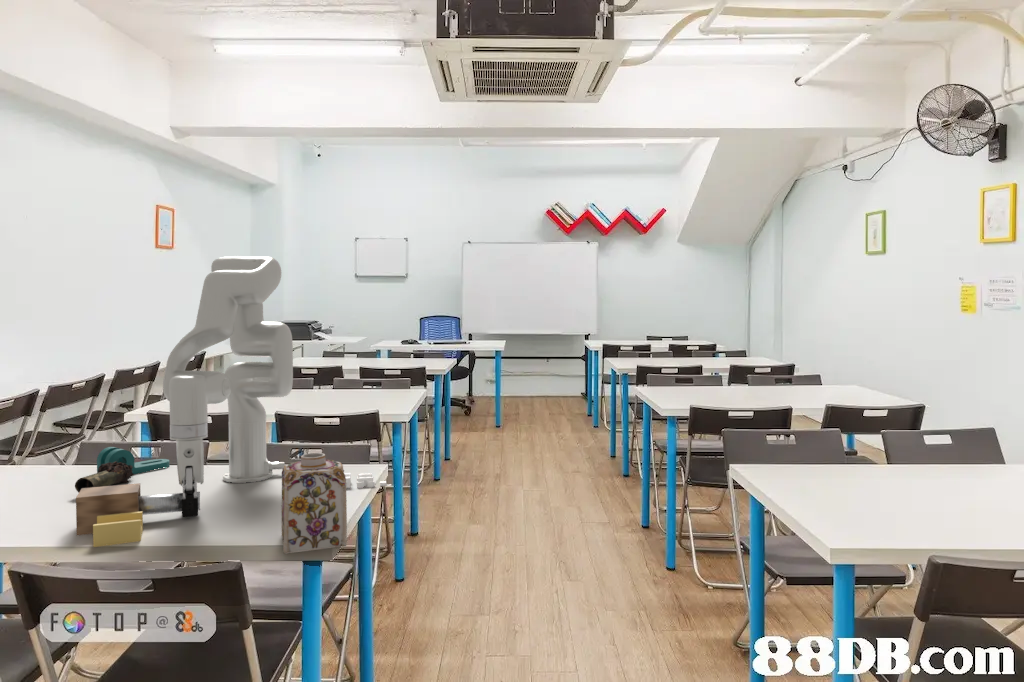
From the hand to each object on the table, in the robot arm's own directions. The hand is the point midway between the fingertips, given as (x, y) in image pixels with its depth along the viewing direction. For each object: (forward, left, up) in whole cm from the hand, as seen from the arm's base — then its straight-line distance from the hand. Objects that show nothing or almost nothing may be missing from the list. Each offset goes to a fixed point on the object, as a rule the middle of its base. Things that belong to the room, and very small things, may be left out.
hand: (190, 512), depth 152 cm
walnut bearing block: (+15, 0, -1) cm, 15 cm away
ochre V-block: (+13, +10, -1) cm, 16 cm away
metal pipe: (+22, -31, -4) cm, 38 cm away
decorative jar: (-22, +28, -2) cm, 36 cm away
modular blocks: (-41, -11, -2) cm, 42 cm away
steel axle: (+7, 0, +3) cm, 7 cm away
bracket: (+14, -54, -2) cm, 56 cm away
